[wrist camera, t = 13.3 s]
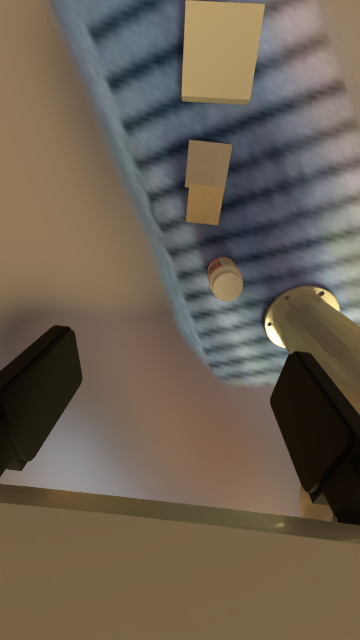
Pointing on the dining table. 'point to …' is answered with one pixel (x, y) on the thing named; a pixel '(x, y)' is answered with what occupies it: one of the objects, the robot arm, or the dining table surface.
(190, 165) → the beige boxy piece
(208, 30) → the block
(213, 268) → the pill bottle
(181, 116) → the dining table surface
